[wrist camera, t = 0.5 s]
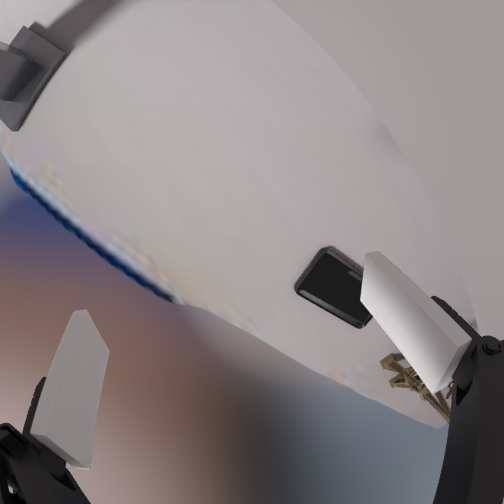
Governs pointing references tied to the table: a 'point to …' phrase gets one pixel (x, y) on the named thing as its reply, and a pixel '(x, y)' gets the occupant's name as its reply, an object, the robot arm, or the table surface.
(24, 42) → the jack stand base
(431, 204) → the table surface
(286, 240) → the table surface
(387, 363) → the eiffel tower
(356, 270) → the phone
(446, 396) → the robot arm
